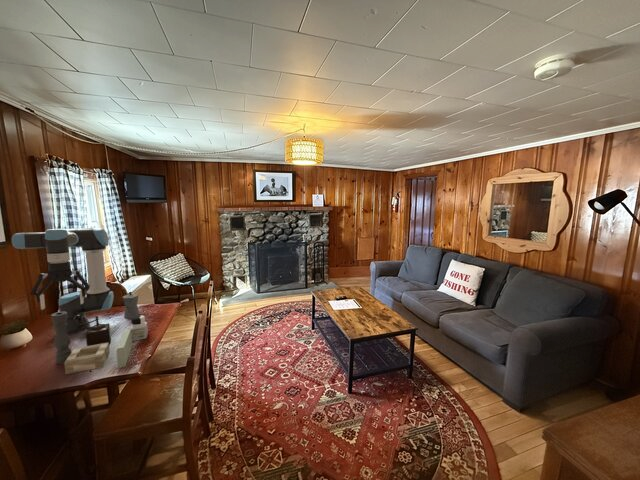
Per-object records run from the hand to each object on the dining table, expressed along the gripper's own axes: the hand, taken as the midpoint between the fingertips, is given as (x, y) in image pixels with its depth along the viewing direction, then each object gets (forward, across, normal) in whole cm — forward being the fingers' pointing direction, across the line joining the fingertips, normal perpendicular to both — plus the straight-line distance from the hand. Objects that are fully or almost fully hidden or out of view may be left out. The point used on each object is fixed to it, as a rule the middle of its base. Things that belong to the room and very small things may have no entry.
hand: (63, 306), depth 127 cm
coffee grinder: (+31, +6, +23) cm, 39 cm away
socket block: (+31, +7, +1) cm, 32 cm away
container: (+31, +28, +20) cm, 46 cm away
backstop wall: (+31, +22, 0) cm, 39 cm away
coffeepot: (+30, +23, +61) cm, 71 cm away
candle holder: (+31, -4, +11) cm, 34 cm away
